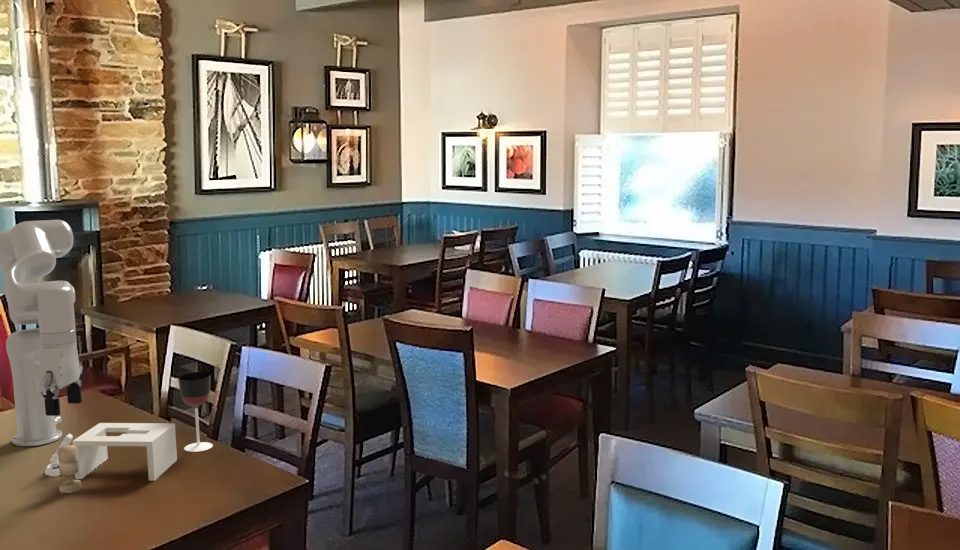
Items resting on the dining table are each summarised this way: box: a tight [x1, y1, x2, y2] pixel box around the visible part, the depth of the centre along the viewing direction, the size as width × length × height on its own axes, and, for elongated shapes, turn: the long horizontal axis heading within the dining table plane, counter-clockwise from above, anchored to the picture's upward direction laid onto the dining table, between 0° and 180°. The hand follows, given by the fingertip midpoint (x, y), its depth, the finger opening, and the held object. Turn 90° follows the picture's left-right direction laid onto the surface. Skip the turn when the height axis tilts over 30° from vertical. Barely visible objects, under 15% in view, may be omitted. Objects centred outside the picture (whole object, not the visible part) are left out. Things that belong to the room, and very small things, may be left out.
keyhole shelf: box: [71, 422, 178, 482], centre depth 214 cm, size 20×14×10 cm
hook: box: [44, 433, 74, 477], centre depth 214 cm, size 8×12×7 cm
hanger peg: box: [57, 444, 83, 494], centre depth 202 cm, size 5×5×10 cm
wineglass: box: [178, 371, 214, 453], centre depth 230 cm, size 8×9×20 cm
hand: (64, 409), depth 199 cm, fingers open, 9 cm apart
